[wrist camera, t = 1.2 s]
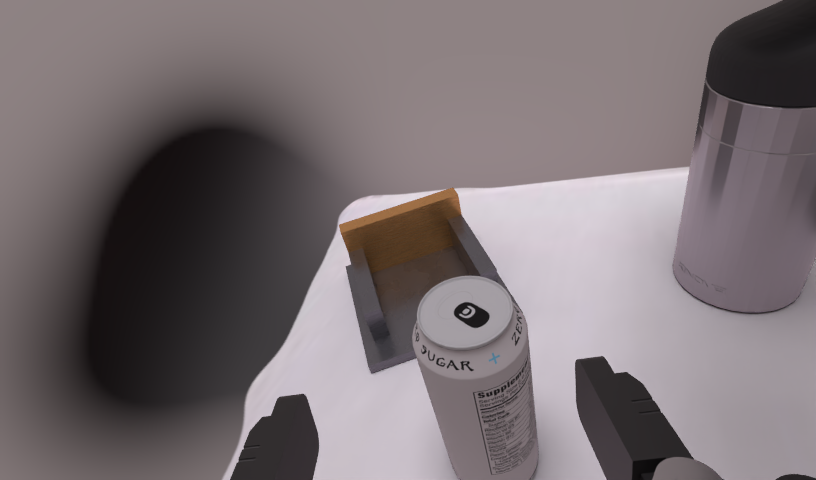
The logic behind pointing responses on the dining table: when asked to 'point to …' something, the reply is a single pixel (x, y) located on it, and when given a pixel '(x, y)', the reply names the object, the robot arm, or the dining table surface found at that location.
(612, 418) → the robot arm
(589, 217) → the dining table surface
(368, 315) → the keeper cradle
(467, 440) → the energy drink can
